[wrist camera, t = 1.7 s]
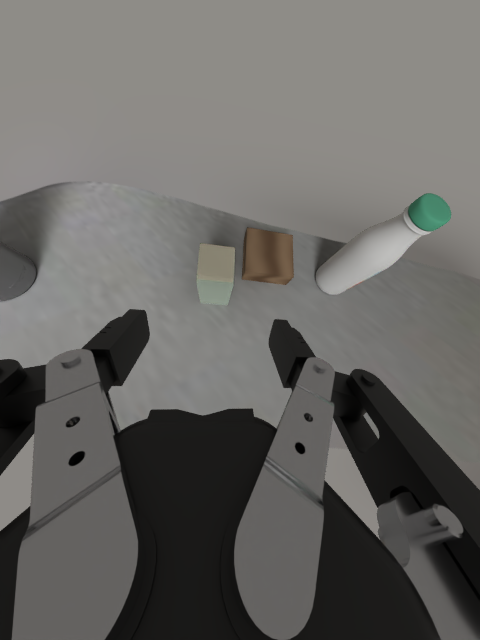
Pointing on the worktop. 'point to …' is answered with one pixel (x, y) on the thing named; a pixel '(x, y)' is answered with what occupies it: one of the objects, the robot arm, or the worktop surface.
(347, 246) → the milk bottle
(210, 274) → the tea tin
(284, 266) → the walnut box
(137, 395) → the worktop surface
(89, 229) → the worktop surface
